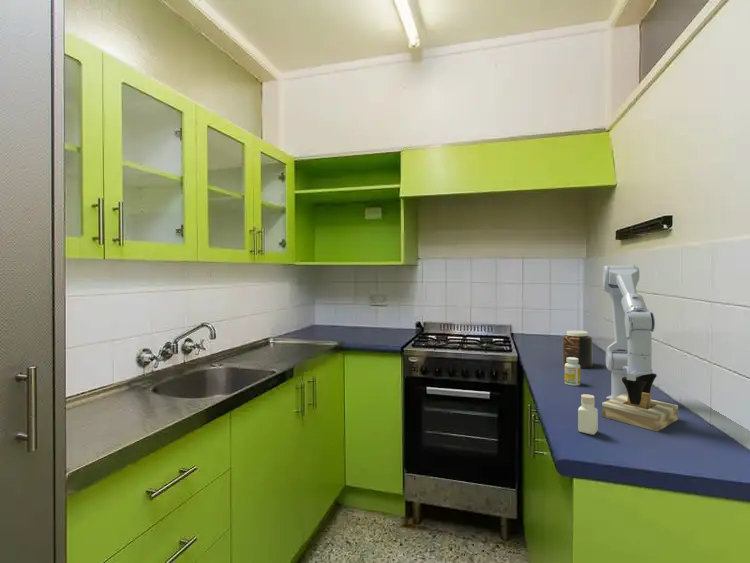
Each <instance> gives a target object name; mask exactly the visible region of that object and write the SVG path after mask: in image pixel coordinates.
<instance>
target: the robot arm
mask: <svg viewBox="0 0 750 563" xmlns="http://www.w3.org/2000/svg"><path fill="white" fill-rule="evenodd" d="M639 281H640V268H639V266H638V265H637V264H632V265H631V264H630V265H625V264H624V265H604V266H603V268H602V286H603V290H604V292H606V293H608V294H609V297H610V301H611V312H612V324H613V336H614V337H613V338H614V341H613V342H612V343H611V344H609V345H608V346H606V348H605V366H606V369H607V370H608V371H610V372H611V373H610V374H611V375H610V376H611V378H610V379H611V383H610V384H611V385H610V386H611V390H610V391H611V392H610V393H611V394H610V395H608V396H606V397H605V398H606V400H610V399H613V398H615V397H618V396H620V395H622V394H628V396H629V400H630V403H631V404H636V405H640V402H641V396H642V392H644V393H649V394H651V389H652V386H653V384H654V381H655V380H656V378H657V373H653V368H652V363H653V362H652V359H653V358H652V332H654V330H655V328H656V327H655V325H656V319H655V314H654V312H653V311H652V310H650V309H648V308H647V305H646V302H645V300H644V297H643V296H642V295H641V294H639V293H638V291H637V285H638V282H639Z"/></svg>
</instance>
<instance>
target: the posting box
mask: <svg viewBox="0 0 750 563" xmlns="http://www.w3.org/2000/svg"><path fill="white" fill-rule="evenodd" d="M601 416H602V417H603V418H606V419H610V420H614V421H617V422H621V423H624V424H629V425H632V426H636V427H640V428H643V429H647V430H650V431H655V432H659V431H661V430H663V429H664V428H666V427H667V426H670V425H671V424H673V423H674V422H676V421H678V420H679V405H678V404H674V403H669V402H665V401H659V400H655V399H651V408H650V409H648V410H647V409H643V408H639V407H635V406H630V405H628V394H622V395H620V396H618V397H615V398H613V399H607V400H606V401H603V402H602V403H601Z"/></svg>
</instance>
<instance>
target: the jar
mask: <svg viewBox="0 0 750 563" xmlns="http://www.w3.org/2000/svg"><path fill="white" fill-rule="evenodd" d="M561 340H562V342H561V344H562V347H561V349H562V352H561V353H562V354H561V355H562V357H561V358H562V366H564V367H565V364H566V363H567V361H566V360H567V357H574V358H578V361H579V362H578V364H579V365H580V369H591V368H593V367H594V366H593V357H594V356H593V355H594V353H593V337H591V336H590V335H589V333H588V331H587V330H586V331H585V330H566V334H565V335H563V336H562V339H561Z"/></svg>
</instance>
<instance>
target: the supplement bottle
mask: <svg viewBox="0 0 750 563" xmlns="http://www.w3.org/2000/svg"><path fill="white" fill-rule="evenodd" d="M566 361H567V363H566V364H565V366H564V384H566V385H568V386H573V387H575V386H580V385H581V368H580V365H579V364H578V362H579V361H578V358H574V357H567V360H566Z"/></svg>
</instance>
